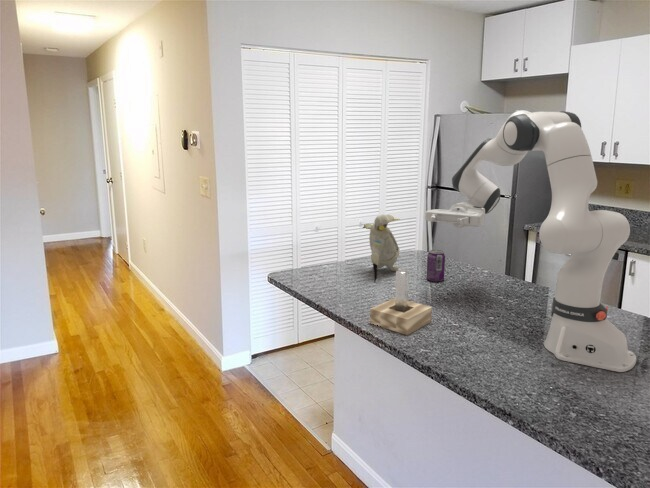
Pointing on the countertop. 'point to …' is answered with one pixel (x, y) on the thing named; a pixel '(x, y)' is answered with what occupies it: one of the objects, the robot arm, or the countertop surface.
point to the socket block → (400, 316)
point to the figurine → (382, 244)
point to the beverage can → (435, 265)
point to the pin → (401, 290)
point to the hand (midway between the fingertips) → (445, 220)
